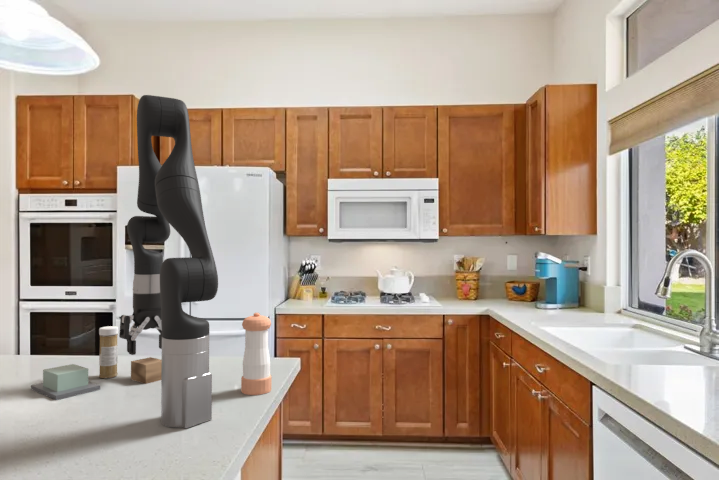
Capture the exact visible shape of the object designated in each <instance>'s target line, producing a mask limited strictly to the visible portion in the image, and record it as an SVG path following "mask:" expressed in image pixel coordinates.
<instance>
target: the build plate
mask: <svg viewBox="0 0 719 480" xmlns="http://www.w3.org/2000/svg"><path fill="white" fill-rule="evenodd" d="M30 389H31V390H32V391H34V392H37V393H39V394H41V395H43V396H45V397H48V398H50V399H51V400H52V399H53V400H55V401H58V400H63V399H66V398H70V397H74V396H79V395H83V394H86V393H91V392H95V391H99V390H101V384H98V383H95V382H91V381H89V368H87V367H84V366H82V365H78V364H75V363H70V364H67V365H61V366H56V367H50V368H45V369H42V382H40V383H36V384H31V385H30Z"/></svg>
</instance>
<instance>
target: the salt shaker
mask: <svg viewBox="0 0 719 480" xmlns="http://www.w3.org/2000/svg"><path fill="white" fill-rule="evenodd" d="M241 323H242V324H241V326H242V329H243V330H244V331H245V333H244V334H245V335H244V337H245V339H244V340H245V341H244V342H245V343H244V352H243V360H242V376H241V379H240V383H241V385H240V386H241V387H240V388H241V389H240V390H241V391H240V392H241V393H242V394H244V395H248V396H257V395H258V396H260V395H264V394H268V393H270V392H271V391H272V378H273V377H272V375H271V358H270V351H269V329H270V328H271V326H272V321H271V319H270V318H269V317H267V316H266V315H261V314H260V313H259V312H254V313H253V315H249V316H247V317H245V318H244V319H243V320H242V322H241Z"/></svg>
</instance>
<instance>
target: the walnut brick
mask: <svg viewBox="0 0 719 480" xmlns="http://www.w3.org/2000/svg"><path fill="white" fill-rule="evenodd" d="M161 370H162V359H159V358H156V357H151V356H150V357H147V358H146V357H145V358H140V359H136V360H135V359H134V360H131V361H130V380H131V381H135V382H139V383H141V384H145V385H147V384H151V383H155V382H158V381H161Z"/></svg>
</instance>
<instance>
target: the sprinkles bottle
mask: <svg viewBox="0 0 719 480" xmlns="http://www.w3.org/2000/svg"><path fill="white" fill-rule="evenodd" d="M98 334H99V356H98V357H99V362H98V363H99V364H98V365H99V375H98V377H99V378H100V379H111V378H112V379H113V378H115V377H117V376H118V375H119V374H118V355H119V354H118V353H119V352H118V349H119V348H118V336H119V335H118V334H119V326H115V325H112V326H111V325H110V326H109V325H107V326H102V327H99V329H98Z"/></svg>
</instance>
